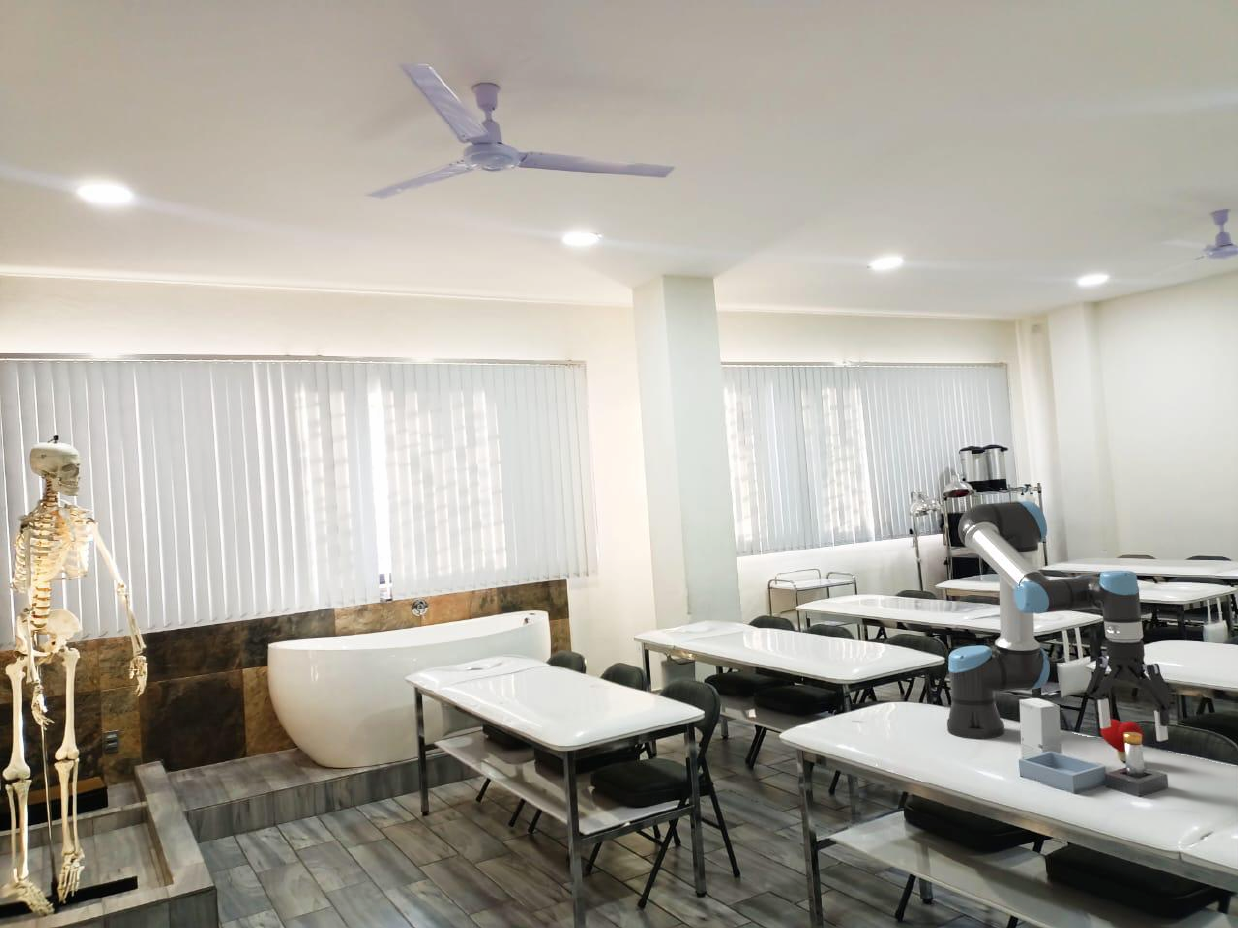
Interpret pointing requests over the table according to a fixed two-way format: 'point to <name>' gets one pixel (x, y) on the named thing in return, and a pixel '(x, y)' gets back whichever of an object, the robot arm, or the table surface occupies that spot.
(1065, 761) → the tray
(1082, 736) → the table surface
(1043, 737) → the skincare box
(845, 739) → the table surface
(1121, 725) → the red heart shape
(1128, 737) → the copper top battery
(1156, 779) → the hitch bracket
